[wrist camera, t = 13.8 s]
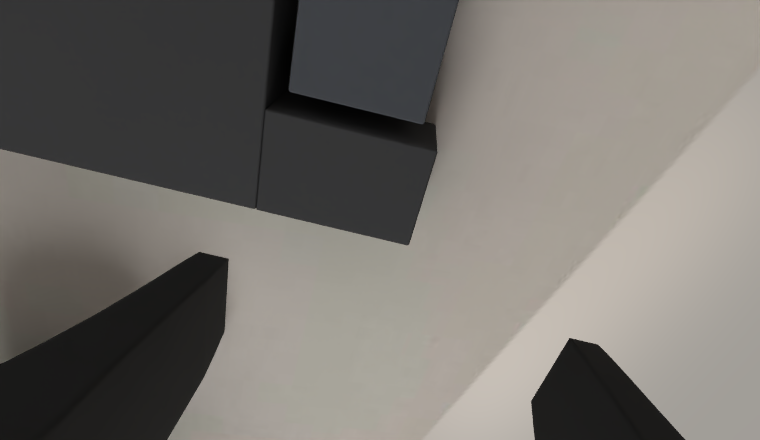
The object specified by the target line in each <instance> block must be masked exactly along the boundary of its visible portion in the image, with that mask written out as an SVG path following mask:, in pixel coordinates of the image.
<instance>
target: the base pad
mask: <svg viewBox="0 0 760 440" xmlns="http://www.w3.org/2000/svg"><path fill="white" fill-rule="evenodd" d="M297 5H298V0H0V149H3V150H7V151H12V152H16V153H20V154H24V155H29V156H33V157H37V158H41V159H45V160H50V161H54V162H58V163H62V164H67V165H71V166H75V167H79V168H84V169H88V170H92V171H96V172H100V173H105V174H109V175H113V176H117V177H122V178H126V179H130V180H134V181H138V182H143V183H147V184H151V185H155V186H160V187H164V188H168V189H172V190H177V191H181V192H185V193H189V194H193V195H198V196H202V197H206V198H210V199H215V200H219V201H223V202H227V203H231V204H236V205H240V206H244V207H248V208H253V209H255V208H257V210H260V211H265V212H269V213H273V214H277V215H282V216H286V217H290V218H294V219H298V220H303V221H307V222H311V223H315V224H320V225H324V226H328V227H332V228H336V229H341V230H345V231H349V232H353V233H358V234H362V235H366V236H370V237H375V238H379V239H383V240H387V241H391V242H396V243H400V244H404V245H409V243H410V240H411V237H412V233H413V230H414V227H415V224H416V220H417V217H418V214H419V211H420V207H421V204H422V201H423V198H424V194H425V191H426V188H427V185H428V181H429V178H430V175H431V172H432V168H433V165H434V162H435V159H436V155H437V140H436V126H435V125H434V124H431V123H427V122H425V123H424V124H419V123H415V122H410V121H406V120H402V119H398V118H394V117H390V116H386V115H382V114H378V113H374V112H370V111H366V110H362V109H358V108H354V107H349V106H345V105H341V104H337V103H333V102H329V101H325V100H321V99H317V98H313V97H309V96H305V95H301V94H297V93H293V92H290V91H289V89H288V84H289V75H290V66H291V57H292V49H293V40H294V31H295V22H296V14H297Z"/></svg>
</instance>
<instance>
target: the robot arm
mask: <svg viewBox="0 0 760 440" xmlns="http://www.w3.org/2000/svg"><path fill="white" fill-rule="evenodd" d="M228 261H229V259H227V258H223V257H218V256H214V255H210V254H205V253H201V252H198V253H197V254H195V255H193V256H192V257H190V258H188V259H186V260H185V261H183V262H181V263H180V264H178V265H177V266H175V267H173V268H172V269H170V270H169V271H167V272H165V273H164V274H162V275H161V276H159V277H157V278H156V279H154V280H152V281H151V282H149V283H148V284H146V285H144V286H143V287H141V288H139V289H138V290H136V291H135V292H133V293H131V294H129V295H128V296H126V297H124V298H123V299H121V300H119V301H118V302H116V303H114V304H113V305H111V306H109V307H107V308H106V309H104V310H102V311H101V312H99V313H97V314H95V315H94V316H92V317H90V318H88V319H86V320H85V321H83V322H81V323H79V324H77V325H75V326H73V327H72V328H70V329H68V330H66V331H64V332H62V333H61V334H59V335H57V336H55V337H53V338H51V339H49V340H48V341H46V342H44V343H42V344H40V345H38V346H36V347H34V348H32V349H30V350H28V351H26V352H24V353H22V354H20V355H18V356H16V357H14V358H12V359H10V360H8V361H6V362H4V363H2V364H0V440H167V439H168V437H169V435H170V434H171V432H172V430H173V429H174V427H175V425H176V424H177V422H178V420H179V419H180V417H181V415H182V414H183V412H184V410H185V408H186V407H187V405H188V403H189V402H190V400H191V398H192V397H193V395H194V393H195V392H196V390H197V388H198V386H199V385H200V383H201V381H202V379H203V378H204V376H205V374H206V372H207V369H208V367H209V365H210V363H211V361H212V359H213V356H214V354H215V352H216V350H217V347H218V345H219V343H220V340H221V338H222V336H223V334H224V330H225V312H226V295H227V278H228ZM531 404H532V415H533V427H534V435H535V440H685V439H684V438H683V437H682V436H681V435H680V434H679V432H678V431H677V430H676V429H675V428H674V427H673V426H672V425H671V424H670V423H669V421H668V420H667V419H666V418H665V417H664V416H663V415H662V414H661V413H660V411H658V409H657V408H656V407H655V406H654V405H653V404H652V403H651V401H650V400H649V399H648V398H647V397H646V396H645V395H644V394H643V393H642V392H641V390H640V389H639V388H638V387H637V386H636V385H635V384H634V383H633V381H632V380H631V379H630V378H629V377H628V376H627V375H626V374H625V373H624V372H623V370H622V369H621V368H620V367H619V366H618V365H617V364H616V363H615V362H614V361H613V360H612V358H610V356H609V355H608V354H607V353H606V352H605V351H604V350H603V349H602V348H601V347H600V346H599V345H597V344H593V343H588V342H584V341H579V340H576V339H571V338H569V340H568V342H567V343H566V345H565V347H564V348H563V350H562V351H561V353H560V355H559V356H558V358H557V360H556V361H555V363H554V365H553V366H552V368H551V370H550V371H549V373H548V375H547V376H546V378H545V380H544V381H543V383H542V384H541V386H540V388H539V389H538V391H537V392H536V394H535V396H534V397H533V399H532V401H531Z"/></svg>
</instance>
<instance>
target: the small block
mask: <svg viewBox="0 0 760 440" xmlns="http://www.w3.org/2000/svg"><path fill="white" fill-rule="evenodd" d="M458 2H459V0H299V3H298V12H297V20H296V29H295V38H294V46H293V55H292V64H291V73H290V81H289V91H290V92H293V93H297V94H301V95H305V96H309V97H313V98H317V99H321V100H325V101H329V102H333V103H337V104H341V105H345V106H349V107H354V108H358V109H362V110H366V111H370V112H374V113H378V114H382V115H386V116H390V117H394V118H398V119H402V120H406V121H410V122H415V123H419V124H424V123H425V119H426V116H427V112H428V109H429V105H430V101H431V98H432V94H433V91H434V87H435V84H436V80H437V77H438V73H439V69H440V66H441V62H442V59H443V55H444V52H445V48H446V45H447V41H448V37H449V34H450V30H451V27H452V23H453V20H454V16H455V13H456V9H457V5H458Z"/></svg>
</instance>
